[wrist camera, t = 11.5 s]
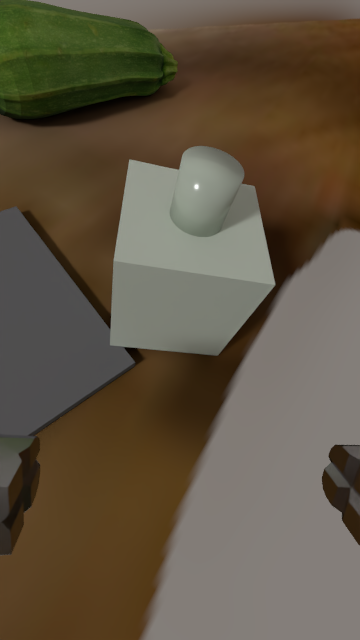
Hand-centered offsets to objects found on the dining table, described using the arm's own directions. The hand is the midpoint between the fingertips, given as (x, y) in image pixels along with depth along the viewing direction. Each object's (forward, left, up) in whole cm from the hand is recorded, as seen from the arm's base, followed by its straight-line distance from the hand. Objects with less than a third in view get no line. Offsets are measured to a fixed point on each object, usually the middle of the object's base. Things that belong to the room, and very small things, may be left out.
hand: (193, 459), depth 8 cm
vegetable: (-30, +14, -8) cm, 34 cm away
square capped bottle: (-7, +6, -7) cm, 12 cm away
